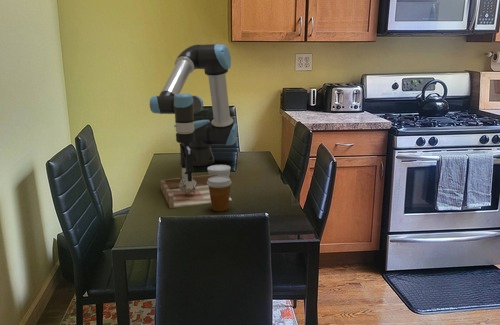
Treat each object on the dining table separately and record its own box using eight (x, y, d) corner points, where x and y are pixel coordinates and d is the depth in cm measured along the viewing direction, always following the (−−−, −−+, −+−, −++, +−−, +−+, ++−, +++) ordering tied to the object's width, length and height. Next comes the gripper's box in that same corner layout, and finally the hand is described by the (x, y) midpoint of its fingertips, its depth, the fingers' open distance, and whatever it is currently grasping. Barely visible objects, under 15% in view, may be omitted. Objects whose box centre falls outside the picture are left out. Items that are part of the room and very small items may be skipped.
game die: (184, 203, 192) (169, 186, 188) (190, 190, 198) (175, 174, 194) (200, 195, 187) (184, 178, 183) (205, 183, 194) (190, 166, 190)
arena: (161, 190, 201) (160, 179, 200) (216, 184, 209) (216, 174, 208) (170, 208, 179) (169, 196, 177) (232, 200, 187) (231, 189, 185)
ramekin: (203, 177, 221) (202, 167, 219) (221, 173, 228) (221, 163, 226) (216, 182, 212) (216, 171, 211) (235, 178, 219) (235, 167, 218)
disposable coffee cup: (203, 209, 177) (201, 180, 174) (218, 202, 184) (217, 174, 181) (222, 214, 172) (221, 184, 169) (237, 207, 179) (236, 177, 176)
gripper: (171, 128, 194) (174, 179, 199) (180, 137, 175) (183, 193, 180) (189, 127, 196) (191, 178, 202) (199, 135, 177) (201, 191, 183)
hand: (187, 185), depth 191 cm, fingers closed on game die, 8 cm apart
